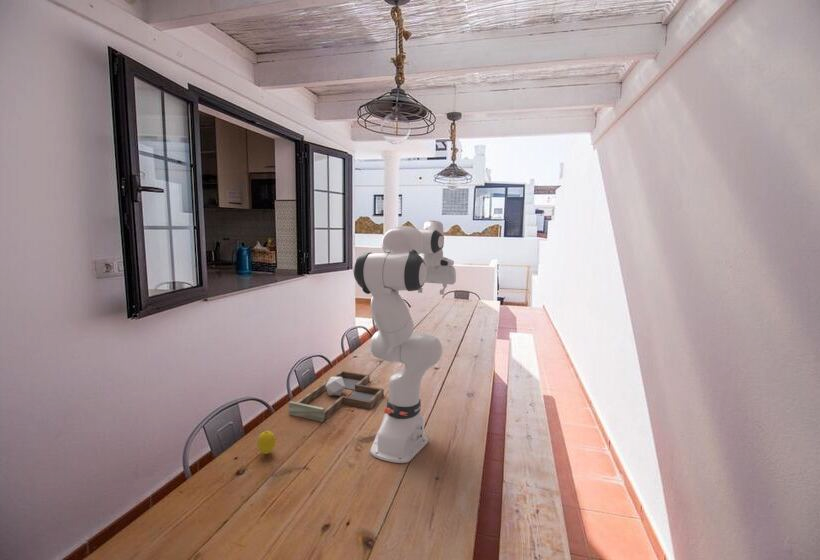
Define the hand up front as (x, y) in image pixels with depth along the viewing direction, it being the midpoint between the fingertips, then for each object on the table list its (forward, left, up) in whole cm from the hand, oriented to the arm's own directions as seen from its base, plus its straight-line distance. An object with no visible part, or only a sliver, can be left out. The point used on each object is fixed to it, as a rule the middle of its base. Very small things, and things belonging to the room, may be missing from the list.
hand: (430, 293), depth 159 cm
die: (-9, +40, -48) cm, 63 cm away
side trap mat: (-9, +27, -48) cm, 56 cm away
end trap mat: (+4, +40, -48) cm, 63 cm away
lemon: (-57, +38, -48) cm, 83 cm away
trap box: (-11, +34, -48) cm, 60 cm away
